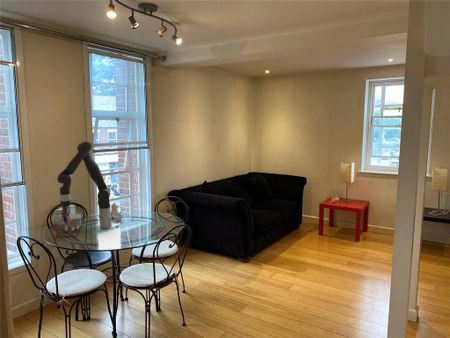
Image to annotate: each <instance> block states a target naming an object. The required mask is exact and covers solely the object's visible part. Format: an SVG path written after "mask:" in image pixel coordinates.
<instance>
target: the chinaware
mask: <svg viewBox="0 0 450 338" xmlns="http://www.w3.org/2000/svg"><path fill="white" fill-rule="evenodd" d="M119 208H121V211H119ZM110 211H111V219H112V221H115V222H116V223H121V222H122V221H124V219H125V217H124V216H123V214H122V213H123V207H122V206H120V205H118V204H117V203H116V202H113V203H112V204H110ZM97 216H98V218H99V214H97Z"/></svg>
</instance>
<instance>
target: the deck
mask: <svg viewBox="0 0 450 338" xmlns="http://www.w3.org/2000/svg"><path fill="white" fill-rule="evenodd" d="M66 226H67V225H66ZM54 232H55V233H54V234H55V237H56V238H57V237H58V238H59V237H60V238H61V237H73V236H74V233H73V232H74V231H72V226H67V231H66V232H67V233H66V234H64V233H62V234H61V226H55V225H54Z"/></svg>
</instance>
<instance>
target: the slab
mask: <svg viewBox="0 0 450 338" xmlns="http://www.w3.org/2000/svg"><path fill="white" fill-rule="evenodd" d="M69 216H72V221H67V223H66V226H80V227H81V226H82V225H81V224H82V213H77V214H73V215H69Z"/></svg>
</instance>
